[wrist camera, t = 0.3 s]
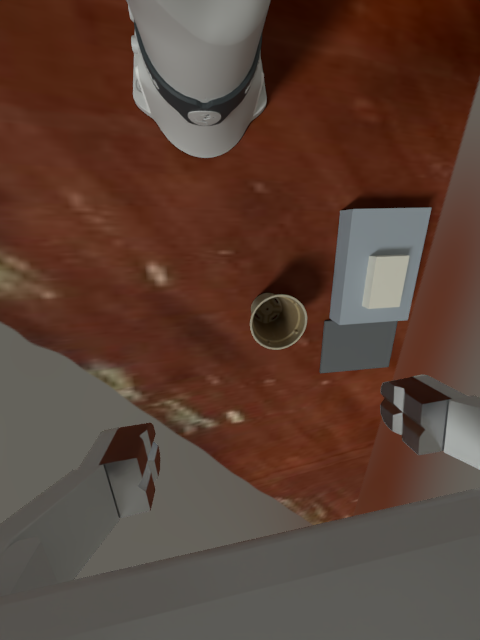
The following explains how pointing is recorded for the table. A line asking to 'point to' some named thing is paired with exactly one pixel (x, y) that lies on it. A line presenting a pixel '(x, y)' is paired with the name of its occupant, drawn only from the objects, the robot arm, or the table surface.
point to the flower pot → (277, 320)
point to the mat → (356, 346)
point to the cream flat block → (385, 281)
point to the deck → (373, 240)
